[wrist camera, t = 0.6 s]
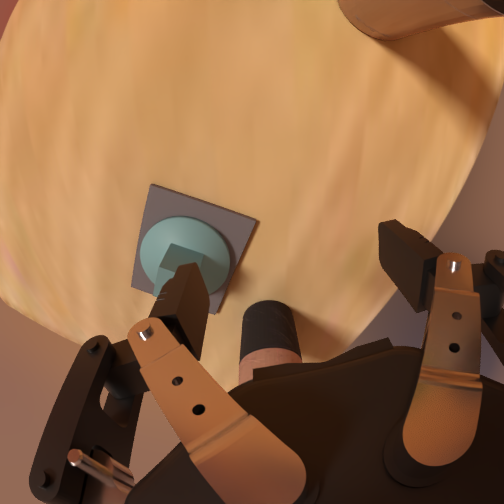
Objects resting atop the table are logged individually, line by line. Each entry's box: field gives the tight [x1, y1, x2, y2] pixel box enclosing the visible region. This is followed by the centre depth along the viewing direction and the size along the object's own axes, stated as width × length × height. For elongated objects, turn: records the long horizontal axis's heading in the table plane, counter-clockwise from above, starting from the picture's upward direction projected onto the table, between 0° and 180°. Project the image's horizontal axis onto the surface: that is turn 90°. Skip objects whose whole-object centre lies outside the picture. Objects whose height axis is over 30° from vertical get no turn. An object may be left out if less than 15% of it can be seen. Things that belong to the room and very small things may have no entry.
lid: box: [140, 216, 230, 297], centre depth 30 cm, size 11×11×6 cm
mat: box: [131, 184, 256, 315], centre depth 32 cm, size 15×12×1 cm
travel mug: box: [239, 300, 302, 385], centre depth 29 cm, size 8×8×20 cm
